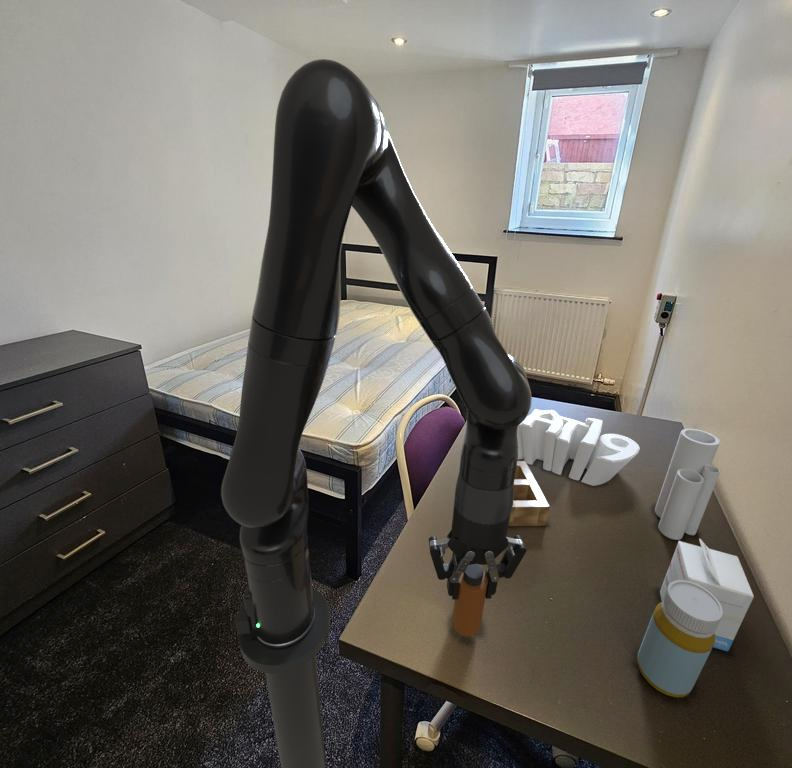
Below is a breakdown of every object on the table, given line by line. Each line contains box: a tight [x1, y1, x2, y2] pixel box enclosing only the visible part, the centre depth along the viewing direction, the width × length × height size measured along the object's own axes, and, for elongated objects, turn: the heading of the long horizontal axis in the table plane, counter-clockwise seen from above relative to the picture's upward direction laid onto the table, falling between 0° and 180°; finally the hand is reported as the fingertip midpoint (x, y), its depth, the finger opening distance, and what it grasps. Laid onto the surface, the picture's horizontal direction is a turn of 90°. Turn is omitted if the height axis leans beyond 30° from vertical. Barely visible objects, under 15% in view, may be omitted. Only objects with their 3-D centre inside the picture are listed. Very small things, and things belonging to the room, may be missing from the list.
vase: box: [654, 428, 721, 541], centre depth 84 cm, size 11×7×20 cm, turn 160°
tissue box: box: [659, 538, 755, 652], centre depth 64 cm, size 9×8×13 cm
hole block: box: [508, 460, 551, 527], centre depth 92 cm, size 9×16×5 cm, turn 4°
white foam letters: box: [517, 408, 640, 487], centre depth 107 cm, size 35×16×11 cm, turn 55°
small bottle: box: [451, 564, 488, 637], centre depth 62 cm, size 4×4×11 cm
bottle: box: [636, 580, 723, 698], centre depth 56 cm, size 7×7×15 cm
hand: (470, 593), depth 61 cm, fingers closed on small bottle, 4 cm apart
